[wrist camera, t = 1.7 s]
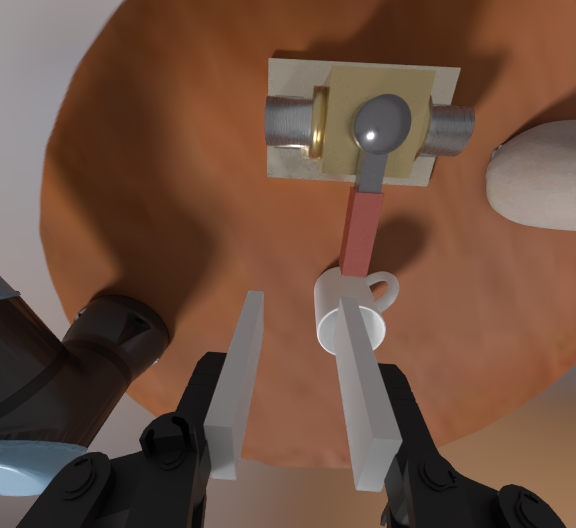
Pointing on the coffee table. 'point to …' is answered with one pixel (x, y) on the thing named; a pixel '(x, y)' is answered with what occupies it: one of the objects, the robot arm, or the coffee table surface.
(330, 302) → the mug
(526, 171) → the sculpture
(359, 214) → the lever
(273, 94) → the valve body
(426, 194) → the coffee table surface
